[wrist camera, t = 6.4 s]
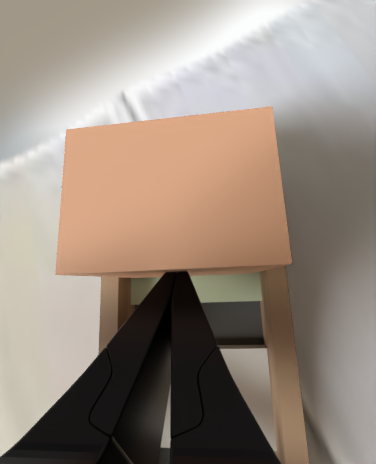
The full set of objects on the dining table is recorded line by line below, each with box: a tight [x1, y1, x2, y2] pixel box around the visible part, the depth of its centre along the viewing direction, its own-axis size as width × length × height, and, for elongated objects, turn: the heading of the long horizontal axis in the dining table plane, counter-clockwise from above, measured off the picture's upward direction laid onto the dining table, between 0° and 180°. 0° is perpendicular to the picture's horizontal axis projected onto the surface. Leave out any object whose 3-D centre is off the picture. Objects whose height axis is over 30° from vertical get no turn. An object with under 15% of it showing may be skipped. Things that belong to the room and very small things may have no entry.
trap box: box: [99, 266, 309, 464], centre depth 14 cm, size 20×10×3 cm, turn 3°
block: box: [55, 107, 292, 278], centre depth 11 cm, size 5×7×8 cm
